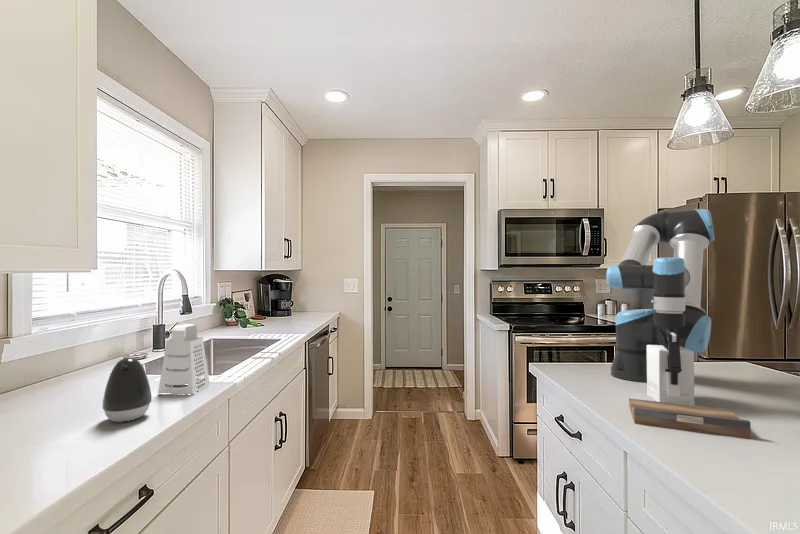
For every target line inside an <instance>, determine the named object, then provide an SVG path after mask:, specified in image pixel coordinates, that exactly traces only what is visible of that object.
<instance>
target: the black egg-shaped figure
mask: <svg viewBox="0 0 800 534" xmlns="http://www.w3.org/2000/svg"><path fill="white" fill-rule="evenodd" d="M151 391H152V390H151V386H150V383H149V378H148V376H147V373H146V370H145V368H144V366H143V365H142V364H141V362H140V361H139V360H138V359H137V358H135V357H125V358H122V359H120V360H119V361H118V362H117V363H116V364H115V365H114V367H113V368H112V370H111V371H110V374H109V376H108V379H107V382H106V386H105V389H104V394H103V398H102V406H101V407H102V410H103V411H104V415H105V416H106V418H107V419H108V420H110V421H112V422H115V423H124V422H123V421H128V422H131V421H130V420H133V421H135V420H134V419H136V420H138V419H140V418H141V417H142V416H144V415H145V414H146V413H147V411H148V410H149V408H150V405H151V403H152V392H151ZM139 417H140V418H139ZM137 418H138V419H137Z"/></svg>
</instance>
